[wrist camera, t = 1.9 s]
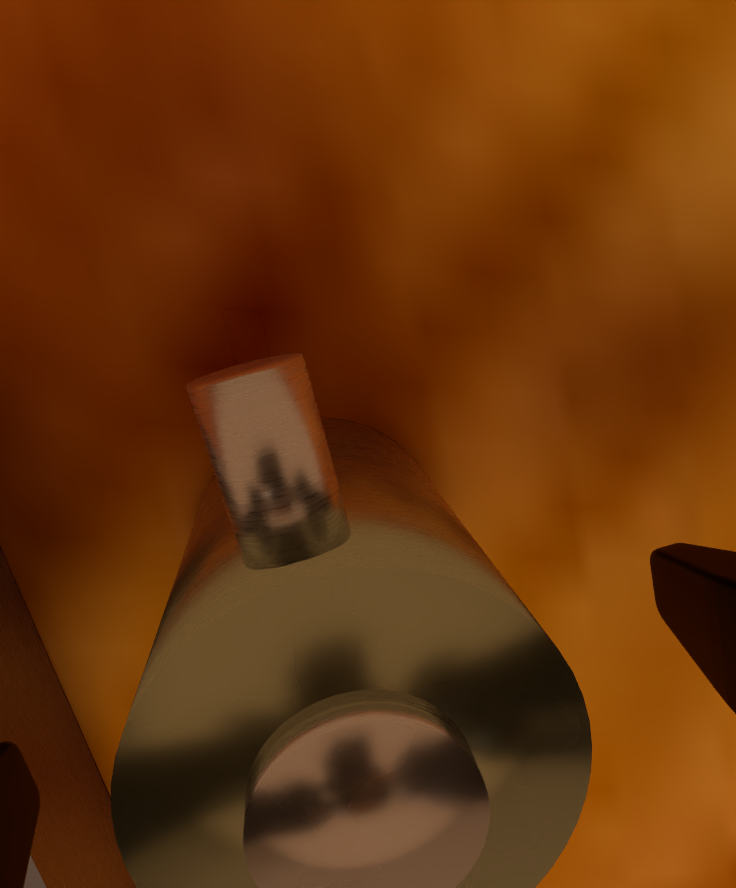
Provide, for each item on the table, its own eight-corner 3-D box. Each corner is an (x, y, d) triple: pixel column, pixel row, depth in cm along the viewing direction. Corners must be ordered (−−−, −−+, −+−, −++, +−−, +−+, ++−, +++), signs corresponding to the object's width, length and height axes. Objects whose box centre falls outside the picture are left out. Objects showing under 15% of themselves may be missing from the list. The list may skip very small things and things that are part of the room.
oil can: (459, 606, 14) (644, 937, 7) (237, 671, 14) (195, 1090, 7) (387, 294, 12) (538, 313, 5) (129, 361, 12) (-87, 479, 5)
